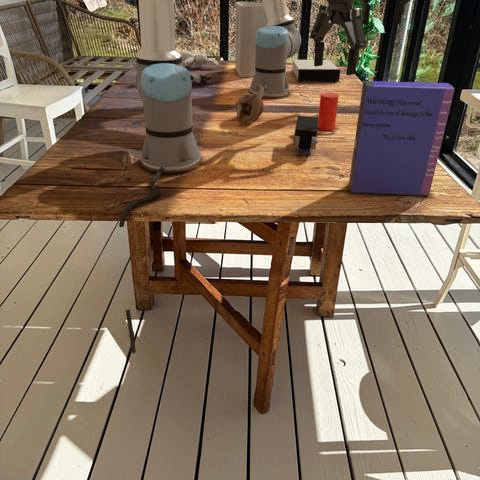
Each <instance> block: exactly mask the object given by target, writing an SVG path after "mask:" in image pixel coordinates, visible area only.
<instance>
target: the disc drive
mask: <svg viewBox="0 0 480 480" xmlns="http://www.w3.org/2000/svg"><path fill="white" fill-rule="evenodd" d="M292 72H293V74H294V75H295V77H296V79H297V82H324V83H325V82H340V75H341V69H340V68H339V67H338V66H337V65H336V64H335V63H334V62H333V61H332V60H331V59H323V65H322V66H314V59H292Z"/></svg>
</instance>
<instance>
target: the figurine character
mask: <svg viewBox="0 0 480 480" xmlns="http://www.w3.org/2000/svg"><path fill="white" fill-rule="evenodd" d="M318 130H319V129H318V117H317V116H306V115H297V117H296V122H295V129H294V137H293V140H292V142H293V144H292V146H293V149H294V150H297V155H299V156H300V155H301V152H307V155H308V156H311V154H312V151H316V147H317V144H318V140H317V139H318Z"/></svg>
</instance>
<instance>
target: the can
mask: <svg viewBox="0 0 480 480" xmlns="http://www.w3.org/2000/svg"><path fill="white" fill-rule="evenodd" d="M339 96H340V95H339V94H338V93H334V92H322V93H320V96H319V107H318V130H320V131H333V130H335V129H336V122H337V114H338V107H339V105H338V104H339V98H340V97H339Z"/></svg>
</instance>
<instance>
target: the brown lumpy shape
mask: <svg viewBox="0 0 480 480" xmlns="http://www.w3.org/2000/svg"><path fill="white" fill-rule="evenodd" d="M256 89H257V90H259V91H258V93H257V95H255V94H250V92H247V91H245V92H243V93H242V94H241V96H240V97H239V98H238V100H237V101H236V102H235V106H234V107H235V111H236V115H235V119H236V120H240V122H239V125H240V126H245V127H247V126H248V125H250V123H252V122H254V121H255V120H256V119H257V118H258V117H260V116H262V114H263V112H264V106H265V105H264V103H263V101H262V99H263V98H262V96H263V94H264V88H263V86H262V85H260V84H258V85H256Z"/></svg>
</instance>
